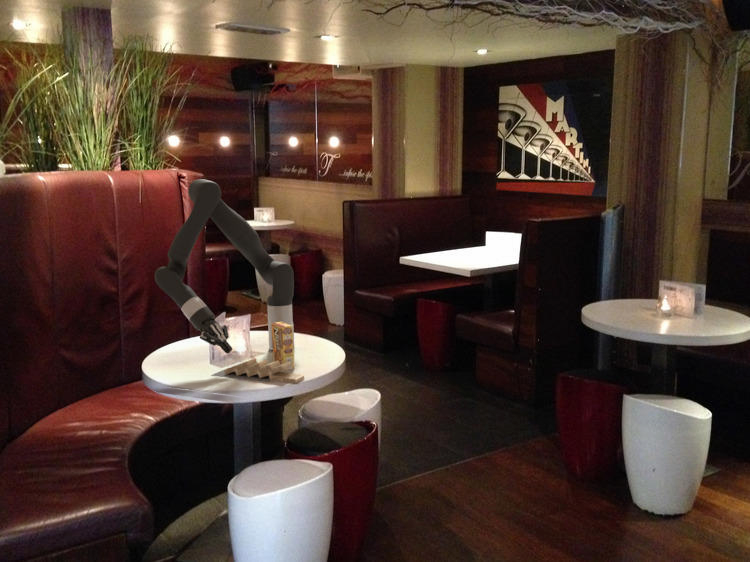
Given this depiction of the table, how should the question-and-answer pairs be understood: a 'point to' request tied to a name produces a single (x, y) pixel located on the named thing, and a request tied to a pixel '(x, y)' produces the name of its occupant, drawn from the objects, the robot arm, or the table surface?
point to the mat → (242, 376)
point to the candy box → (282, 343)
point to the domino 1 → (240, 366)
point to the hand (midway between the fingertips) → (229, 351)
